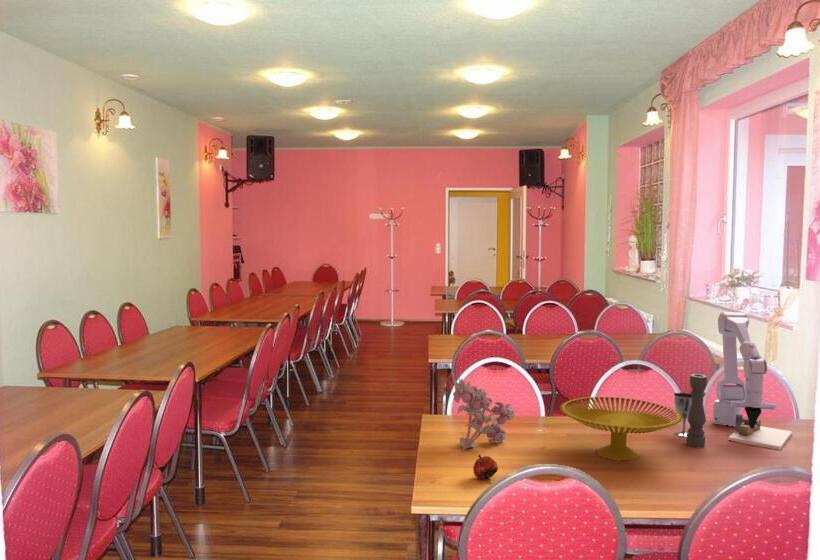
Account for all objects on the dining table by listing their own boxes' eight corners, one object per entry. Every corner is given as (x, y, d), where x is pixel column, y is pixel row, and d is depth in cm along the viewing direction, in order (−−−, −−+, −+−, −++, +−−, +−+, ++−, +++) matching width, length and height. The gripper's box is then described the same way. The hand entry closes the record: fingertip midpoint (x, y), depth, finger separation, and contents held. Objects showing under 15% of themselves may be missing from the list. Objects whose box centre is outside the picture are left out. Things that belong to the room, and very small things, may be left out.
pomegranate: (500, 487, 217) (491, 459, 224) (503, 474, 212) (494, 446, 219) (477, 491, 216) (468, 463, 223) (479, 478, 211) (470, 450, 218)
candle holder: (706, 448, 250) (709, 378, 248) (687, 446, 251) (691, 377, 249) (702, 442, 256) (706, 374, 254) (684, 441, 257) (687, 373, 255)
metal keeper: (735, 430, 267) (736, 415, 266) (736, 429, 268) (737, 414, 268) (757, 434, 262) (757, 418, 262) (758, 433, 264) (759, 417, 263)
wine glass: (670, 435, 264) (672, 396, 263) (673, 430, 271) (675, 391, 270) (693, 439, 260) (695, 398, 259) (696, 433, 267) (698, 394, 266)
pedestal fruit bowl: (595, 480, 218) (597, 432, 217) (538, 440, 257) (539, 399, 255) (707, 469, 229) (710, 423, 227) (636, 432, 267) (637, 393, 266)
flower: (509, 456, 234) (520, 383, 242) (442, 445, 238) (454, 372, 246) (509, 464, 252) (519, 395, 260) (447, 452, 256) (458, 385, 265)
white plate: (728, 440, 259) (728, 437, 259) (743, 426, 277) (743, 423, 277) (780, 449, 249) (780, 446, 249) (791, 434, 267) (792, 431, 267)
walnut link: (750, 425, 273) (751, 417, 273) (761, 427, 270) (762, 420, 270) (737, 433, 262) (737, 425, 262) (748, 436, 259) (749, 428, 259)
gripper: (734, 392, 257) (732, 429, 258) (778, 395, 253) (776, 432, 254) (730, 387, 263) (728, 423, 265) (773, 390, 260) (771, 426, 261)
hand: (751, 427), depth 260 cm, fingers closed
